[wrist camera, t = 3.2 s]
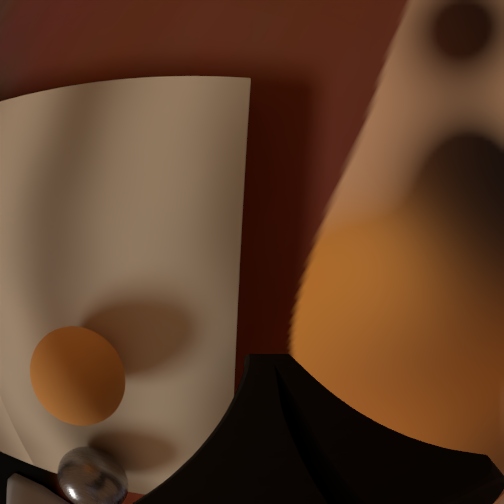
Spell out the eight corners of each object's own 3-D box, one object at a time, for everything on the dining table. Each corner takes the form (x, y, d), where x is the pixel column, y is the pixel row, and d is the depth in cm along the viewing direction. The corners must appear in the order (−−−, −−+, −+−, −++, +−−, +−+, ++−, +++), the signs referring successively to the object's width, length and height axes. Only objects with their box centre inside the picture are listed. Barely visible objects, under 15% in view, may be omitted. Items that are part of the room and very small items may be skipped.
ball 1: (131, 315, 9) (96, 368, 6) (140, 393, 10) (119, 454, 7) (50, 306, 9) (-1, 346, 6) (65, 381, 10) (30, 431, 7)
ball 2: (127, 439, 11) (109, 495, 7) (139, 480, 11) (128, 530, 8) (62, 426, 10) (36, 473, 7) (81, 468, 11) (63, 512, 8)
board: (246, 99, 11) (250, 78, 8) (229, 467, 14) (230, 501, 12) (-68, 140, 9) (-97, 139, 7) (-22, 412, 13) (-38, 431, 10)
